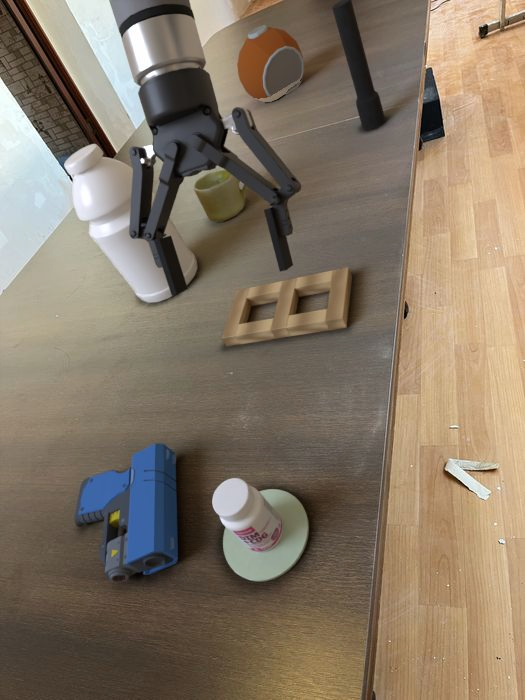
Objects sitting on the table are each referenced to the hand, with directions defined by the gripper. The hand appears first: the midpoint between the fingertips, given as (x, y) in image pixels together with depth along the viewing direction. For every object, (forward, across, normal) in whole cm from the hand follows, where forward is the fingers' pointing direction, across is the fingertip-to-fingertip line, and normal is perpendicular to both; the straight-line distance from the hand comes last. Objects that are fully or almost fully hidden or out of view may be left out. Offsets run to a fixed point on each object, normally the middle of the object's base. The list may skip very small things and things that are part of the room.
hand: (230, 281), depth 55 cm
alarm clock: (-37, +18, -108) cm, 115 cm away
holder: (+9, +2, -21) cm, 23 cm away
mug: (-8, +19, -54) cm, 58 cm away
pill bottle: (+26, 0, +10) cm, 28 cm away
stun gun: (+26, +18, +9) cm, 33 cm away
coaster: (+26, 0, +10) cm, 28 cm away
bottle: (+2, +30, -36) cm, 47 cm away
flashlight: (-17, -11, -70) cm, 72 cm away
